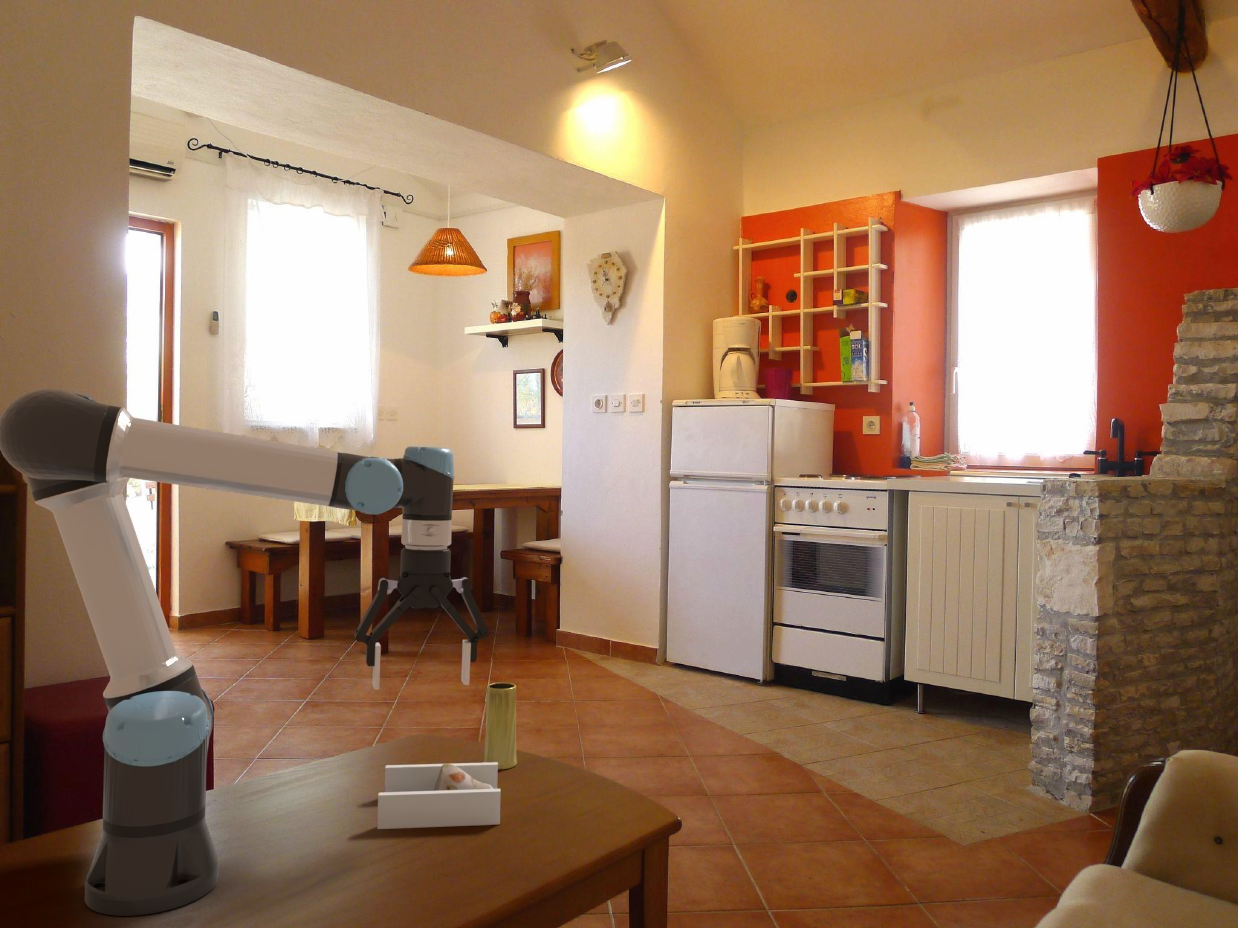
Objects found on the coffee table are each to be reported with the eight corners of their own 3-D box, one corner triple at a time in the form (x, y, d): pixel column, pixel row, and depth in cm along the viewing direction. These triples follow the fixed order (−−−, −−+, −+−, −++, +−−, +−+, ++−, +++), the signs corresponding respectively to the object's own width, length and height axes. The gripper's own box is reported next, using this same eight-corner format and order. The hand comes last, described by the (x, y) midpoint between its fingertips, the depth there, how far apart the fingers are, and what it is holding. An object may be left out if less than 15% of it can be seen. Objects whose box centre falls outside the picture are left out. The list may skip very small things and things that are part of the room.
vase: (478, 768, 165) (480, 688, 165) (488, 757, 171) (490, 680, 171) (511, 771, 164) (513, 690, 164) (520, 760, 170) (522, 682, 170)
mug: (500, 817, 144) (470, 766, 141) (443, 842, 144) (413, 792, 142) (502, 789, 151) (474, 740, 148) (448, 813, 151) (419, 765, 149)
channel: (377, 828, 137) (378, 795, 137) (385, 795, 151) (386, 765, 151) (499, 824, 140) (500, 791, 140) (496, 792, 154) (497, 762, 154)
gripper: (343, 549, 135) (338, 695, 135) (511, 549, 143) (506, 686, 143) (340, 544, 142) (335, 683, 142) (500, 545, 150) (495, 675, 150)
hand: (421, 685), depth 143 cm, fingers open, 13 cm apart
